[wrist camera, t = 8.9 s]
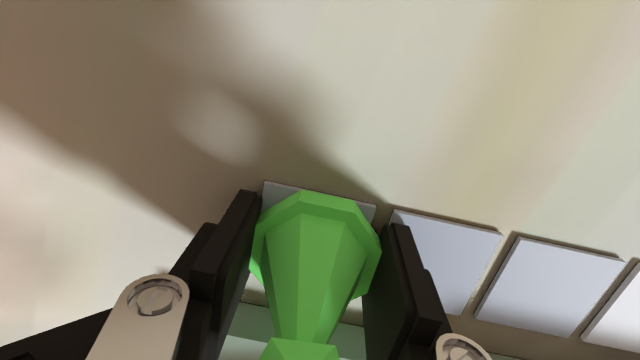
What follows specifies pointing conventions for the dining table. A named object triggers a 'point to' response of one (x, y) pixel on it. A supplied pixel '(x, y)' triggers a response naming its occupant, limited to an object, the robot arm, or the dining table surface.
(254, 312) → the board
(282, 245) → the game piece
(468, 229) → the track
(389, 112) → the dining table surface
